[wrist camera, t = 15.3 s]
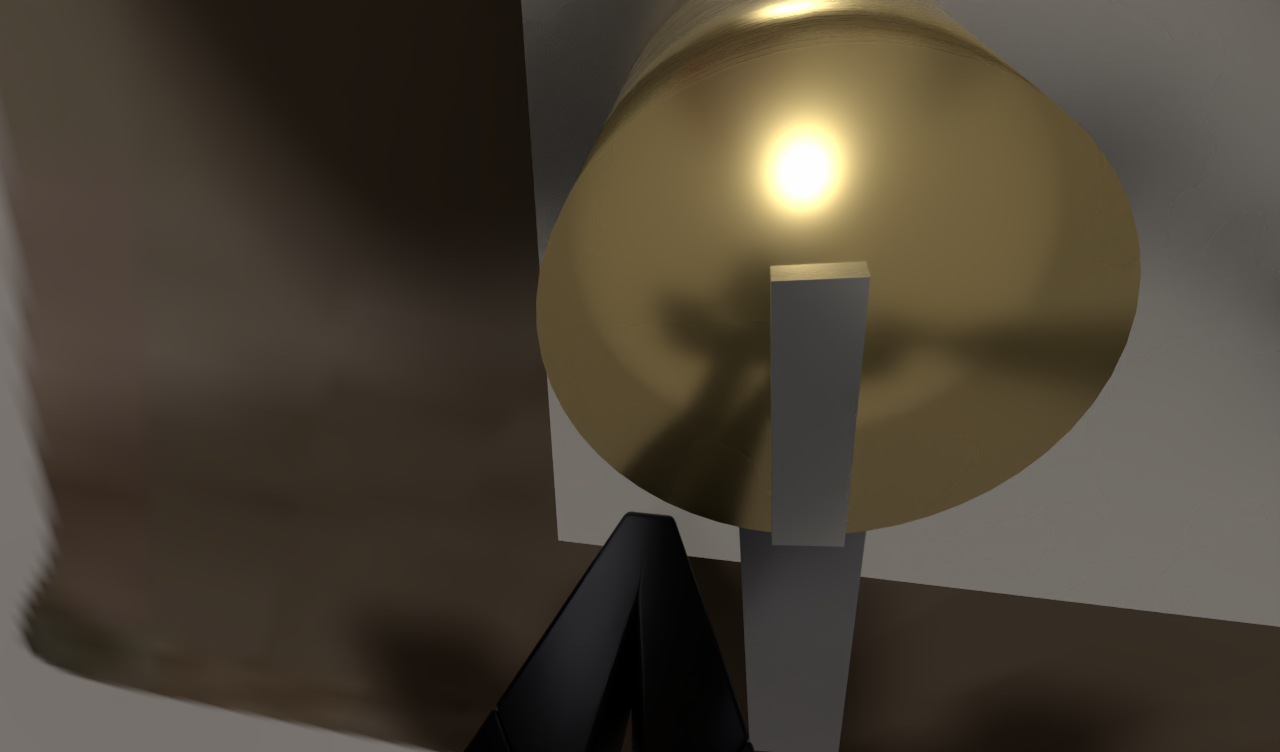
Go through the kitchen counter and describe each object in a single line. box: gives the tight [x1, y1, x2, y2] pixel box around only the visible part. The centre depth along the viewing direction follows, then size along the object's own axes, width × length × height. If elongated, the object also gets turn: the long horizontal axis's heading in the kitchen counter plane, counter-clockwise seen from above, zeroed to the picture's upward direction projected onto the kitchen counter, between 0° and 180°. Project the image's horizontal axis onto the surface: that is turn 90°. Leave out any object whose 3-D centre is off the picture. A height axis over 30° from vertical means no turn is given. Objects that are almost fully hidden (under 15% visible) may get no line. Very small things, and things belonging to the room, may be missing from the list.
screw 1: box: [536, 0, 1141, 752], centre depth 8 cm, size 9×4×4 cm, turn 7°
